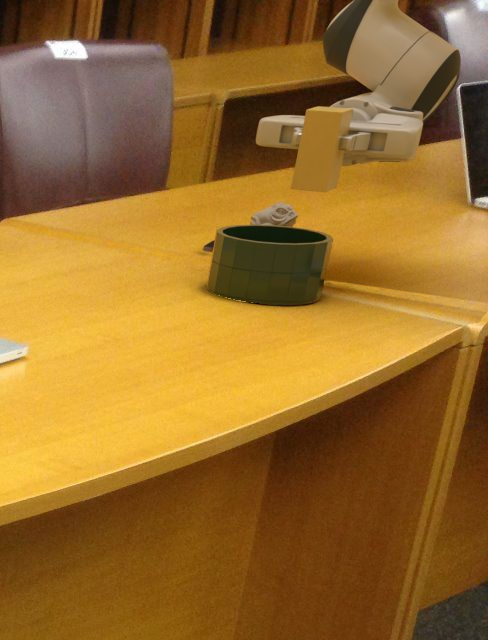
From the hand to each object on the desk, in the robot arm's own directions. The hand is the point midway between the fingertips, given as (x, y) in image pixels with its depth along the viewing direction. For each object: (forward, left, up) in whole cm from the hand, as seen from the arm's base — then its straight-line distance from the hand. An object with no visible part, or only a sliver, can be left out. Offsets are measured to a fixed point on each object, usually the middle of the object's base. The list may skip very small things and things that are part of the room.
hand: (321, 141), depth 201 cm
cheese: (0, -1, -6) cm, 6 cm away
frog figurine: (+13, -33, -20) cm, 41 cm away
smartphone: (+12, -25, -20) cm, 34 cm away
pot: (+3, +1, -20) cm, 20 cm away
